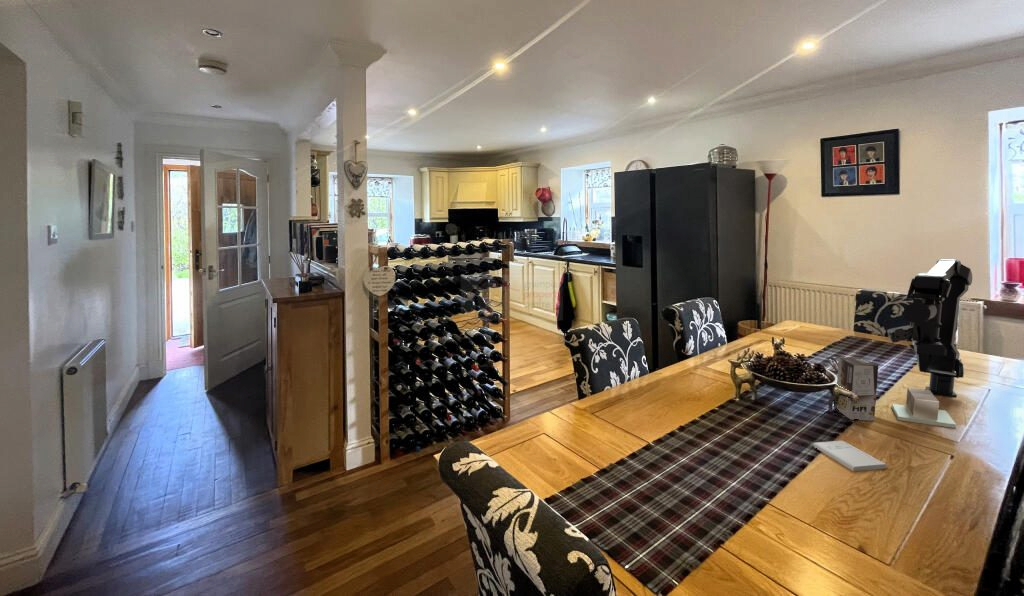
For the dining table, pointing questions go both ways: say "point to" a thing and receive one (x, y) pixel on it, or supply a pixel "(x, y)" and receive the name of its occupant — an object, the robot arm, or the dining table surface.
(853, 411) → the coffee box
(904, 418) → the mat
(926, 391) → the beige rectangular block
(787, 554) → the dining table surface
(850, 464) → the external hard drive
